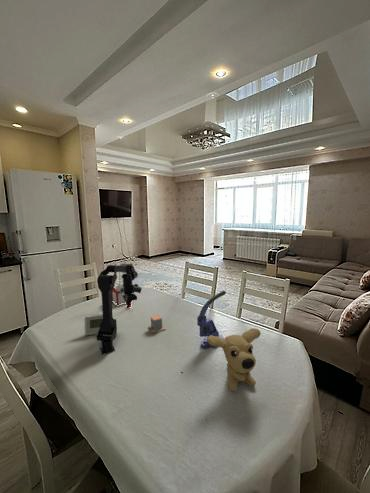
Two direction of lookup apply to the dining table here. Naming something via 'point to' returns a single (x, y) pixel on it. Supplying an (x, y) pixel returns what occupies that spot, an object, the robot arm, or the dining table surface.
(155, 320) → the grey-topped salmon cube
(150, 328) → the tan piece
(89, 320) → the digital clock
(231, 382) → the toy
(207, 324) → the hand press
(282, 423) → the dining table surface
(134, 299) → the robot arm
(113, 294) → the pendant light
